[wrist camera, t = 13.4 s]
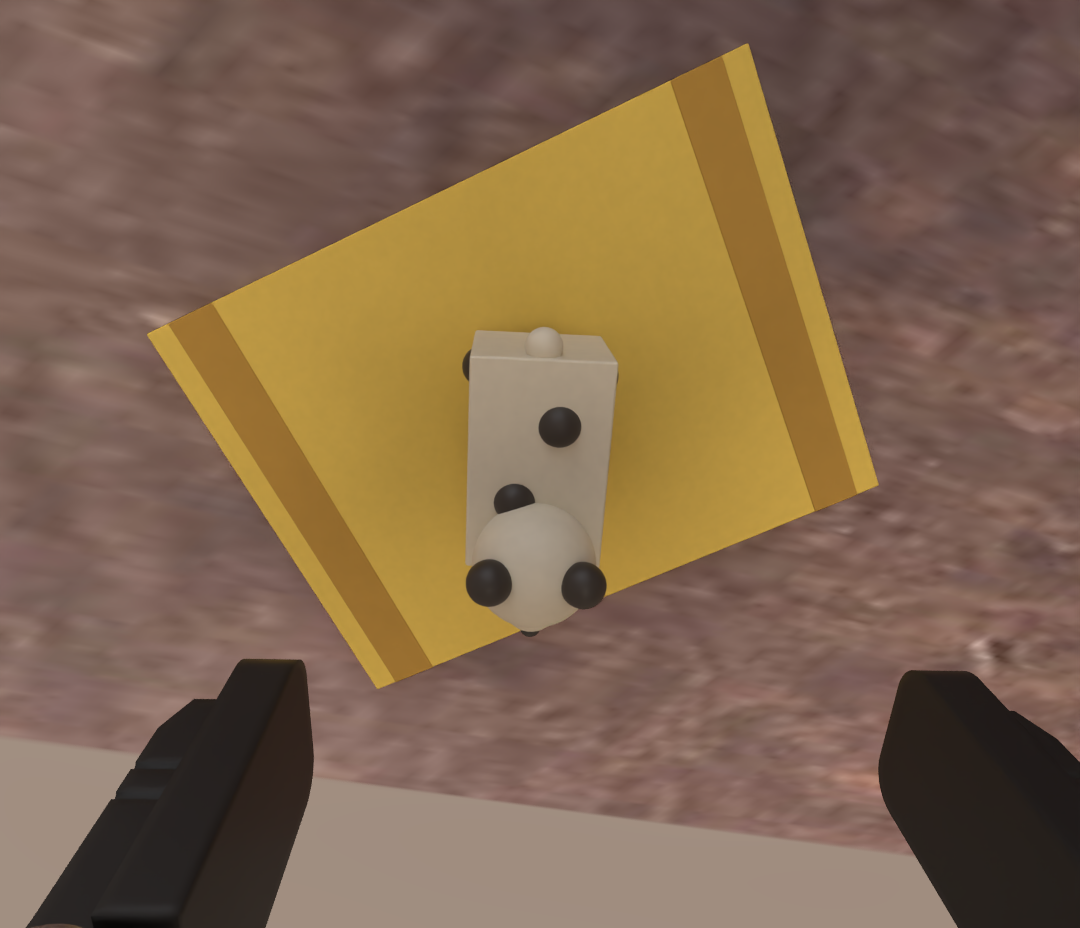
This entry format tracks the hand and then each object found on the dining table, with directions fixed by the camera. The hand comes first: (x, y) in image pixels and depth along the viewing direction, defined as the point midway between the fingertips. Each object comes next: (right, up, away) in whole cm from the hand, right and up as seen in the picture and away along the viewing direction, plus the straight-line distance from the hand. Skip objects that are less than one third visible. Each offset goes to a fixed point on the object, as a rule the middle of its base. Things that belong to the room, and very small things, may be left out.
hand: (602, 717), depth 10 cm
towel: (-1, +5, +15) cm, 16 cm away
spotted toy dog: (-1, +5, +14) cm, 15 cm away
